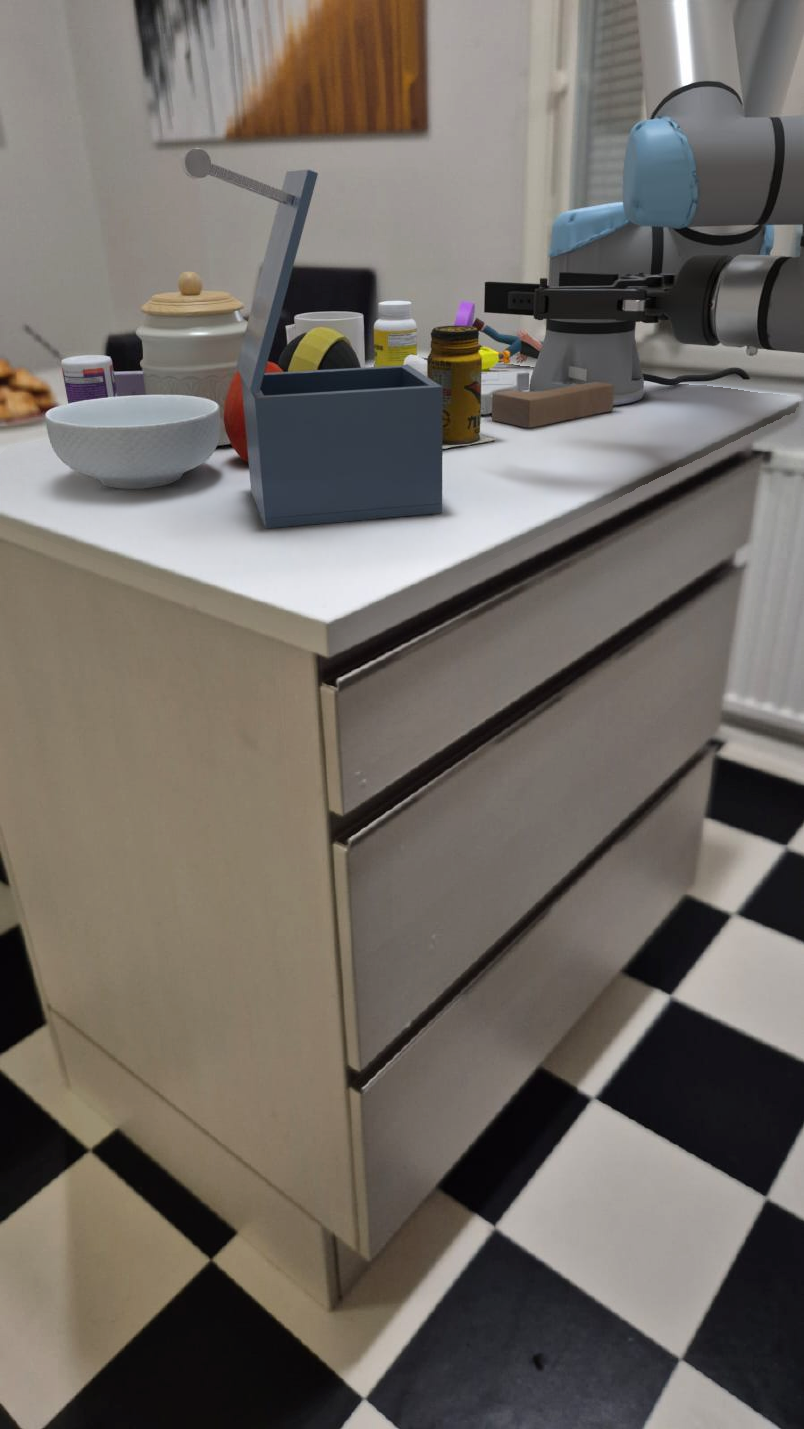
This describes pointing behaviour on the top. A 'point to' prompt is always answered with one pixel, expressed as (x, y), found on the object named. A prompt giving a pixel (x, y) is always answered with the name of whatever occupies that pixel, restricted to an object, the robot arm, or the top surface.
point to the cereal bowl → (135, 437)
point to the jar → (192, 343)
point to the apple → (239, 413)
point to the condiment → (458, 383)
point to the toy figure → (492, 358)
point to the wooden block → (552, 404)
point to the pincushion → (417, 363)
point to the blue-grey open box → (344, 445)
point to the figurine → (517, 344)
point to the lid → (276, 259)
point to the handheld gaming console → (501, 385)
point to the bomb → (318, 352)
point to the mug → (339, 321)
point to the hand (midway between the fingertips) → (524, 291)
